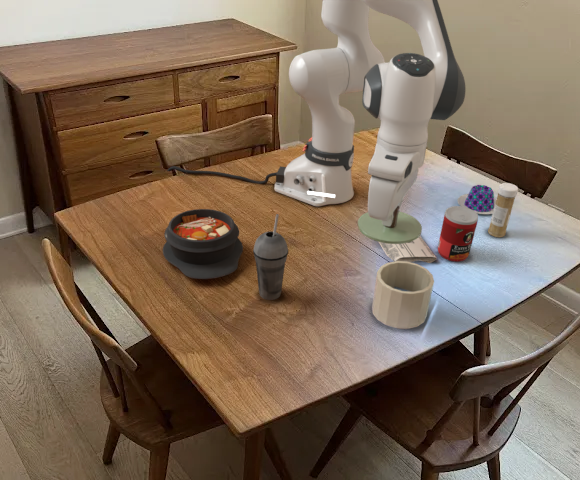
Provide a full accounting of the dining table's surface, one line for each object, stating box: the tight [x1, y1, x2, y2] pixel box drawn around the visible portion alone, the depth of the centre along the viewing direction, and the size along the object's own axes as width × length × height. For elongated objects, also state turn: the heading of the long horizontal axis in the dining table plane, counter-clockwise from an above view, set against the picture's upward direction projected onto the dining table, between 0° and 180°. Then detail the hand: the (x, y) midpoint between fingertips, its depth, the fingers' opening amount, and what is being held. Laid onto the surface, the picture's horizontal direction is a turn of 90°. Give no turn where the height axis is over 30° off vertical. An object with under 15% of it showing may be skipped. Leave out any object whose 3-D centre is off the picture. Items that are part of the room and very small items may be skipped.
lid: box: [357, 206, 423, 244], centre depth 117 cm, size 12×12×5 cm
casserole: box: [162, 208, 244, 280], centre depth 140 cm, size 25×19×8 cm
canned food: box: [437, 205, 479, 263], centre depth 145 cm, size 8×8×11 cm
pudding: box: [457, 184, 497, 215], centre depth 167 cm, size 12×12×5 cm
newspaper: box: [378, 235, 438, 264], centre depth 151 cm, size 23×12×2 cm, turn 14°
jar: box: [371, 261, 435, 330], centre depth 126 cm, size 11×11×10 cm
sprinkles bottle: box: [487, 182, 519, 238], centre depth 153 cm, size 5×5×14 cm
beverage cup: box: [252, 213, 289, 301], centre depth 125 cm, size 7×7×20 cm
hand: (390, 219), depth 117 cm, fingers closed on lid, 2 cm apart
